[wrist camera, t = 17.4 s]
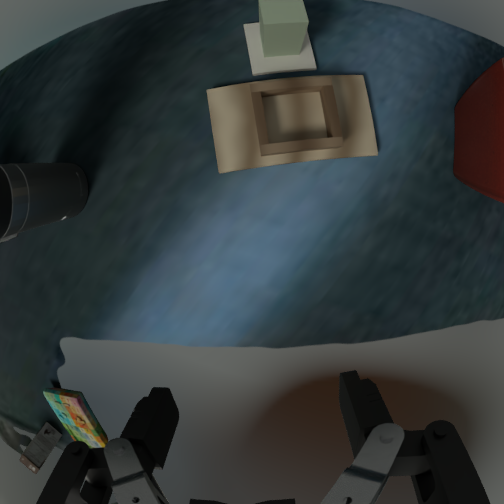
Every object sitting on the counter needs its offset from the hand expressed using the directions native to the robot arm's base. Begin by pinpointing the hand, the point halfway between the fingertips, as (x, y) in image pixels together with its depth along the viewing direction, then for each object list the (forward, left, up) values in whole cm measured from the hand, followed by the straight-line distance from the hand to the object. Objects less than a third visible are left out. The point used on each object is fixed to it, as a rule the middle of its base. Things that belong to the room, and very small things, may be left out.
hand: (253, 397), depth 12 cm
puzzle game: (-49, -36, -31) cm, 68 cm away
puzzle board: (+7, +17, -30) cm, 35 cm away
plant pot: (+40, +12, -30) cm, 52 cm away
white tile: (+7, +29, -30) cm, 42 cm away
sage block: (+7, +29, -29) cm, 42 cm away
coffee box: (-70, -48, -30) cm, 90 cm away
